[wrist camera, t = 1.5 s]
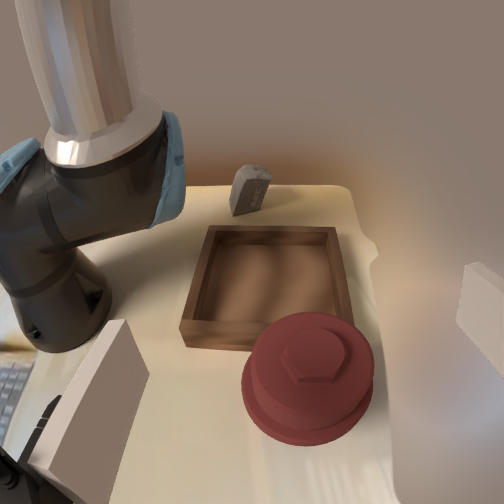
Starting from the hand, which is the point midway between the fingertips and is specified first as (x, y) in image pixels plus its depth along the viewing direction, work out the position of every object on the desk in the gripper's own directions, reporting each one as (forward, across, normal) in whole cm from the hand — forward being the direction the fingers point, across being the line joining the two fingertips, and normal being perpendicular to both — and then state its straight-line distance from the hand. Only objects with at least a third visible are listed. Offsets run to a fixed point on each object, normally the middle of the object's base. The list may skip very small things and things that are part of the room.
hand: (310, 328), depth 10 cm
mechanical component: (+10, 0, -18) cm, 21 cm away
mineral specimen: (+45, -3, -6) cm, 45 cm away
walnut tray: (+26, -1, -12) cm, 29 cm away
